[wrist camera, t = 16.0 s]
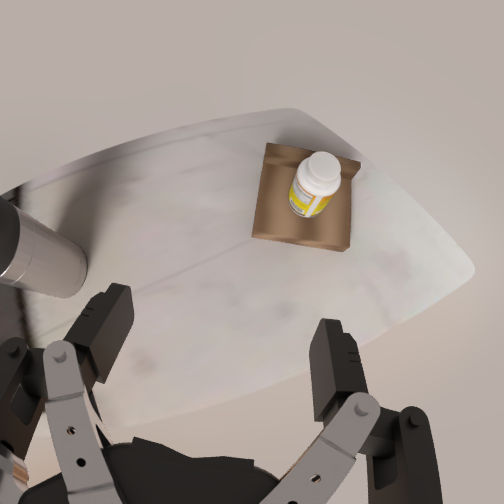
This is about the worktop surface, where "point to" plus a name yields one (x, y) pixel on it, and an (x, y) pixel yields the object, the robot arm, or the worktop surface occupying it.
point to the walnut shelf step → (285, 219)
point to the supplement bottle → (314, 184)
